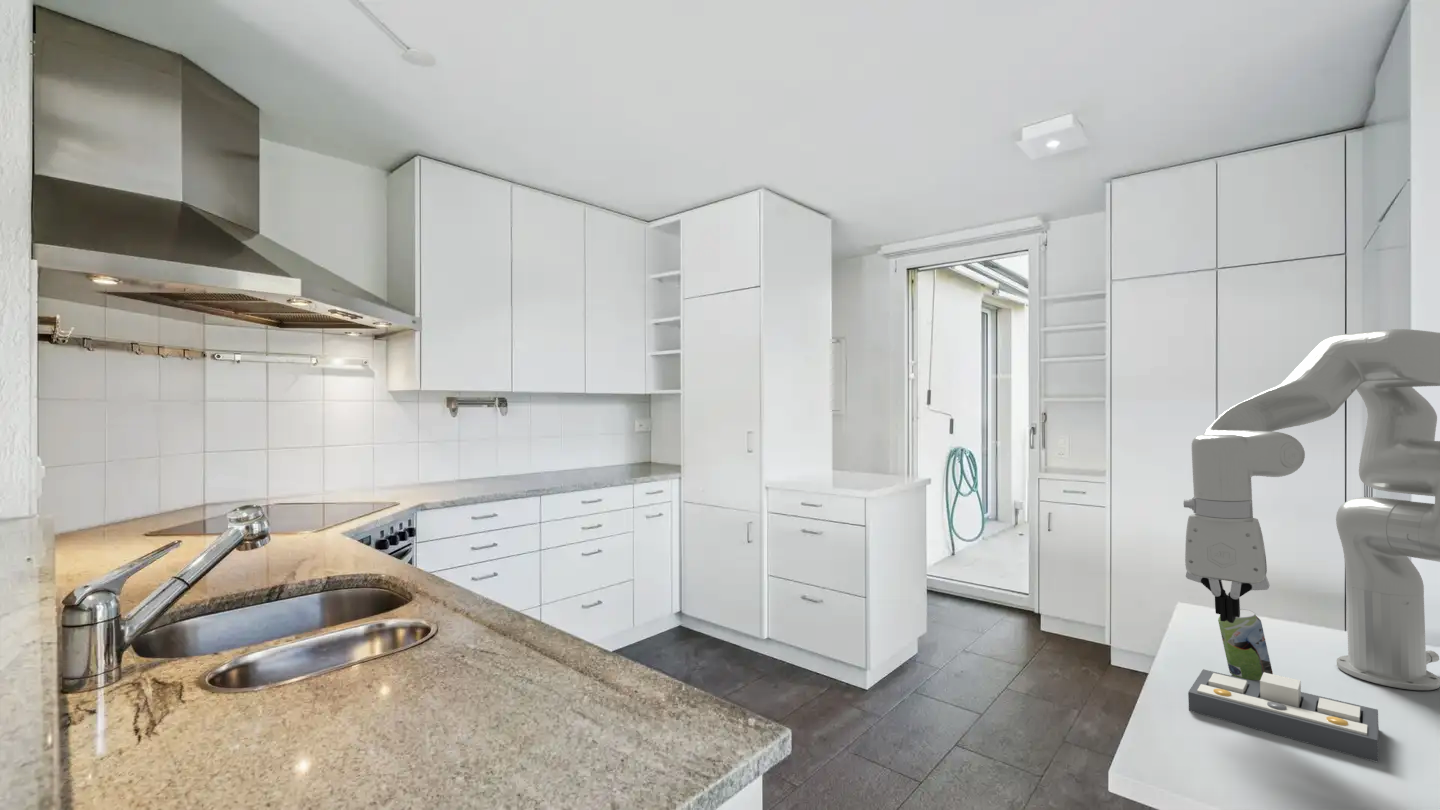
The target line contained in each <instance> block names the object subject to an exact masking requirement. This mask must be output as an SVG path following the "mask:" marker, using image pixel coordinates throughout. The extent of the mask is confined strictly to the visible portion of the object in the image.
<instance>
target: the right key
mask: <svg viewBox="0 0 1440 810" xmlns="http://www.w3.org/2000/svg"><path fill="white" fill-rule="evenodd" d="M1317 710H1318V712H1319V713H1323V714H1327V715H1331V716H1335V717H1339V718H1344V719H1348V720H1352V721H1356V722H1360V723H1361V715H1360V707H1358V706H1354V705H1350V704H1345V703H1341V702H1337V701H1332V700H1328V699H1324V698H1319V702H1318V707H1317Z"/></svg>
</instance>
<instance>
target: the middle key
mask: <svg viewBox="0 0 1440 810" xmlns="http://www.w3.org/2000/svg"><path fill="white" fill-rule="evenodd" d="M1301 683H1302V682H1301V679H1296V678H1291V677H1287V676H1282V675H1277V674H1274V673H1273V674H1269V673H1265V672H1263V675H1262V677H1261V680H1260V698H1262V699H1266V700H1270V701H1274V702H1278V703H1282V704H1286V705H1291V706H1295V707H1299V706H1300V702H1301V692H1302V688H1301V687H1302V686H1301V685H1302V684H1301Z"/></svg>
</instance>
